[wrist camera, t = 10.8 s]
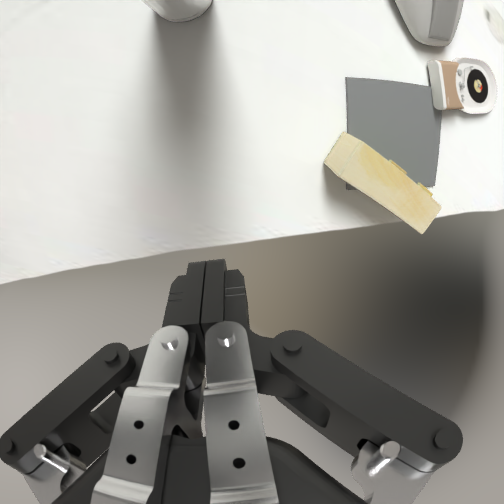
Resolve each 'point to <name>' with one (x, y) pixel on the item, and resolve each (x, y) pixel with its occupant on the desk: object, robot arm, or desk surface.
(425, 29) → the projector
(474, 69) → the record player
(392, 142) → the mat
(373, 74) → the desk surface
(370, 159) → the toy refrigerator
